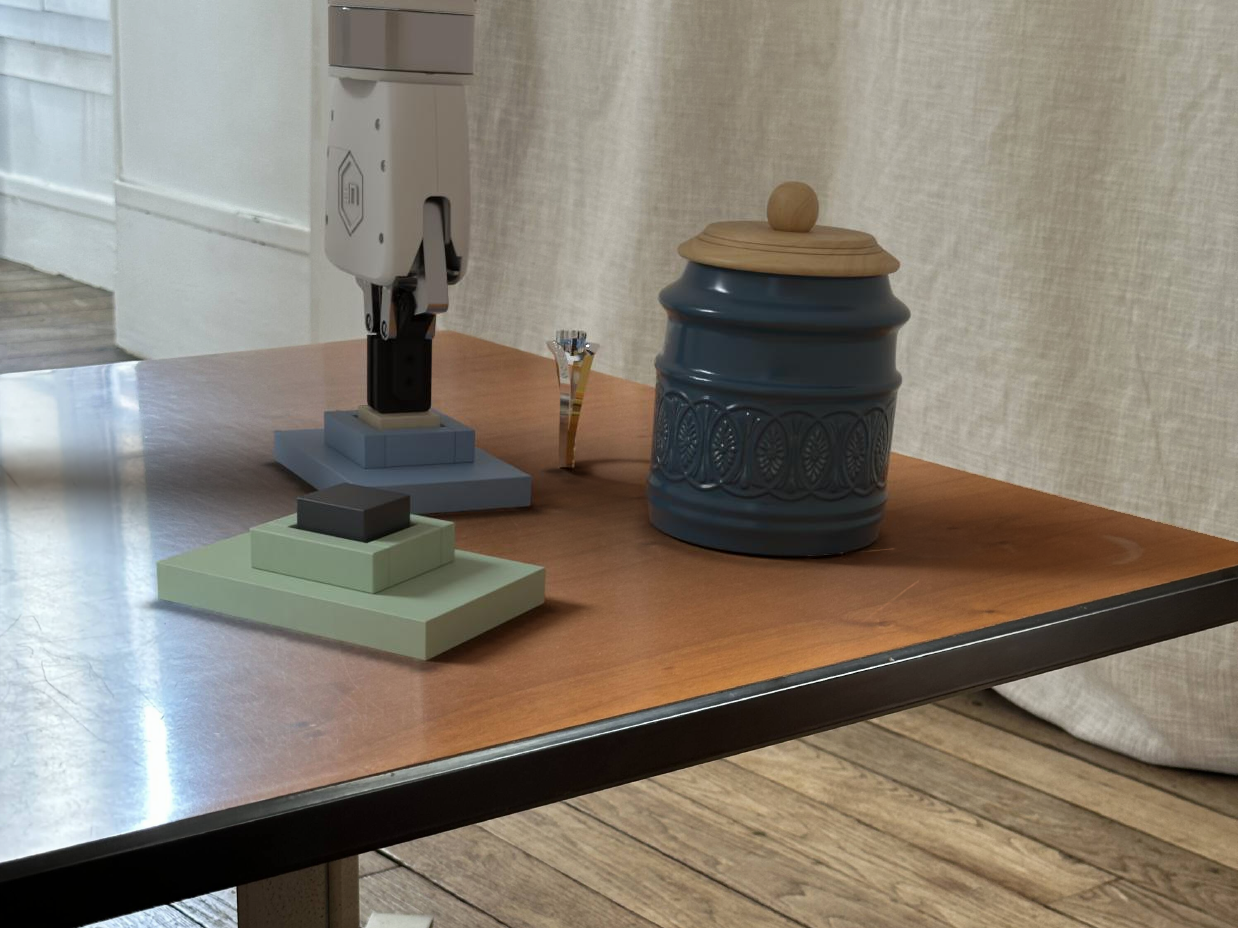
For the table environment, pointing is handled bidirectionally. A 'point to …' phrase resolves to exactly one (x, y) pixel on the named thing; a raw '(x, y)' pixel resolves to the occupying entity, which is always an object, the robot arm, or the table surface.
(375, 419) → the key
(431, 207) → the robot arm
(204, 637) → the table surface
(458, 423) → the blue stepped base
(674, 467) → the canister
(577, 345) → the ring
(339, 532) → the key
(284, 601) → the stepped pedestal base
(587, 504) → the table surface
